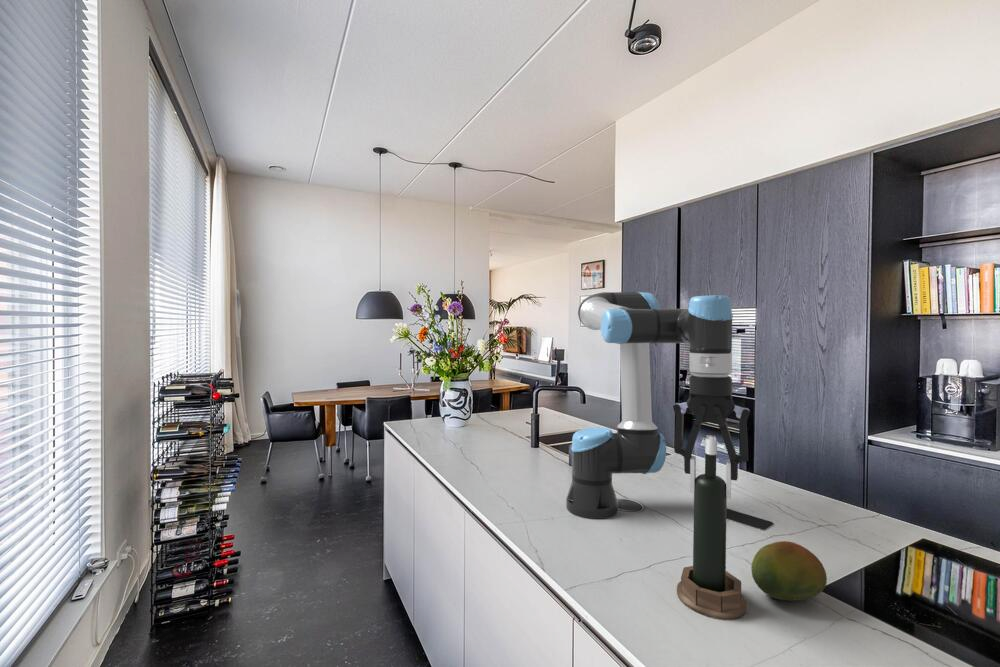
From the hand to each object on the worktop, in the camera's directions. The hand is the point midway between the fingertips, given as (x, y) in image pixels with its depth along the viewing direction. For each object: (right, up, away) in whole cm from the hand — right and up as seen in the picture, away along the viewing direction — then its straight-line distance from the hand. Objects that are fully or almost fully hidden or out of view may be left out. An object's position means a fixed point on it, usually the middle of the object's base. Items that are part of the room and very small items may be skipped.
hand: (710, 492), depth 86 cm
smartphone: (+26, -21, +37) cm, 50 cm away
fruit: (+15, -21, +1) cm, 26 cm away
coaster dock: (0, -21, 0) cm, 21 cm away
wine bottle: (0, -19, 0) cm, 19 cm away
